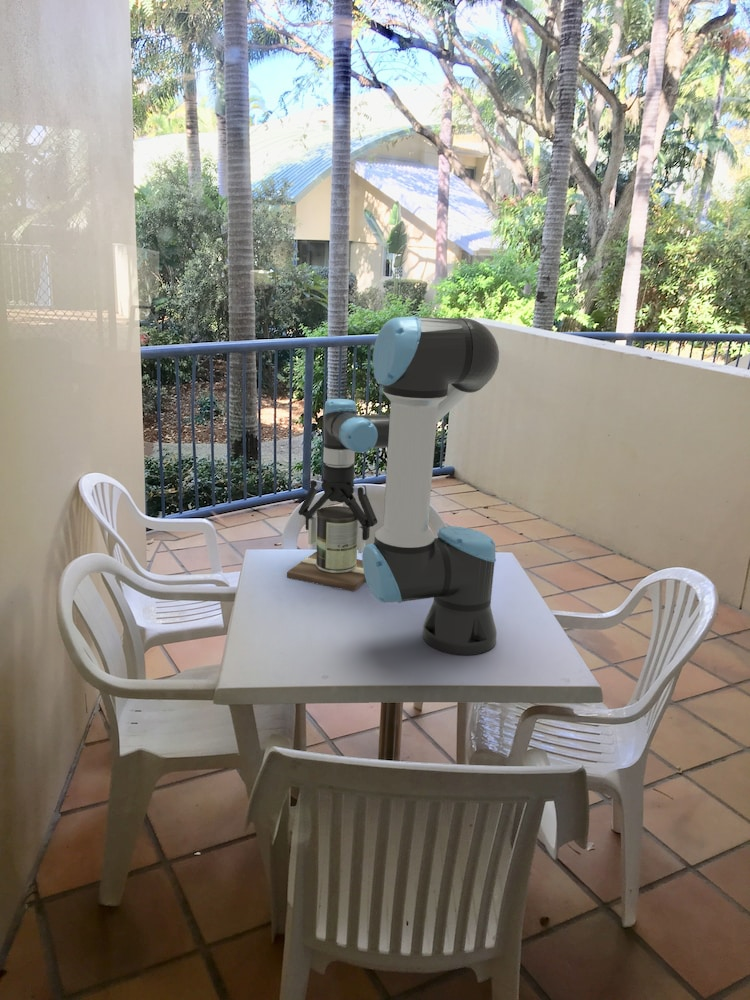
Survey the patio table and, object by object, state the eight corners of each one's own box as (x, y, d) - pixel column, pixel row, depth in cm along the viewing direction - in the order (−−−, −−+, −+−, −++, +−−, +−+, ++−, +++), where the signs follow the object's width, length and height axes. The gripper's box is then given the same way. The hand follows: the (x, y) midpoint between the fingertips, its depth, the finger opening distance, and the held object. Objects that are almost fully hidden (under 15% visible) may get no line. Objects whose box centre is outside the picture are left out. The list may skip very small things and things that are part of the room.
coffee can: (307, 567, 184) (308, 513, 180) (330, 555, 192) (331, 503, 188) (342, 576, 179) (344, 521, 175) (364, 564, 188) (366, 510, 184)
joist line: (366, 574, 181) (366, 573, 181) (301, 561, 188) (301, 561, 188) (371, 570, 184) (371, 569, 184) (306, 558, 190) (306, 557, 190)
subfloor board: (354, 591, 175) (354, 585, 175) (286, 577, 181) (286, 571, 181) (379, 568, 189) (379, 563, 189) (316, 556, 196) (316, 551, 195)
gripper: (392, 467, 177) (388, 550, 183) (299, 454, 186) (298, 534, 192) (381, 473, 171) (377, 560, 177) (285, 460, 179) (284, 543, 185)
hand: (336, 547), depth 184 cm, fingers open, 13 cm apart
